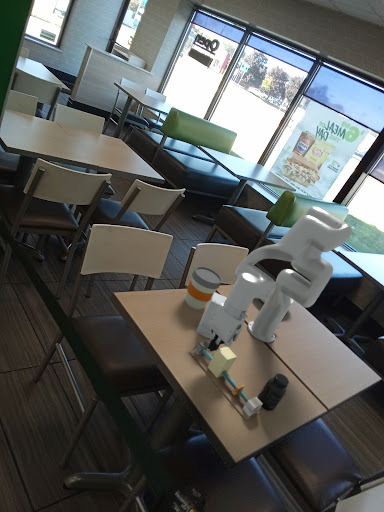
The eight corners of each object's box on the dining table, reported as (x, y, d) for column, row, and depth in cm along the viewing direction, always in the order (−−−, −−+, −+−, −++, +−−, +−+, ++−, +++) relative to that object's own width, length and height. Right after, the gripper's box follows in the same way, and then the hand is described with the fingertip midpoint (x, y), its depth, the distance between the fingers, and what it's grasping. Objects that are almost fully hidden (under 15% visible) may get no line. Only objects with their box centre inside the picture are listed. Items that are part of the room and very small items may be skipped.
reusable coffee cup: (199, 315, 160) (213, 287, 154) (175, 298, 164) (189, 269, 158) (212, 306, 171) (227, 279, 165) (190, 290, 175) (203, 263, 169)
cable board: (204, 348, 143) (209, 338, 141) (260, 412, 126) (267, 402, 124) (189, 352, 137) (194, 342, 136) (245, 420, 120) (252, 410, 118)
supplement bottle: (254, 393, 133) (270, 368, 128) (271, 397, 134) (288, 373, 129) (258, 409, 127) (276, 384, 122) (277, 413, 128) (294, 389, 123)
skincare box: (210, 340, 149) (227, 308, 142) (194, 332, 149) (211, 301, 142) (213, 328, 156) (229, 298, 150) (198, 321, 157) (214, 290, 150)
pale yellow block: (217, 364, 137) (227, 346, 133) (226, 374, 134) (236, 356, 130) (207, 367, 133) (217, 349, 130) (216, 377, 130) (227, 359, 127)
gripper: (257, 321, 124) (232, 362, 131) (227, 292, 132) (206, 333, 140) (242, 325, 118) (218, 367, 126) (212, 294, 127) (191, 336, 135)
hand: (211, 349), depth 133 cm, fingers closed
